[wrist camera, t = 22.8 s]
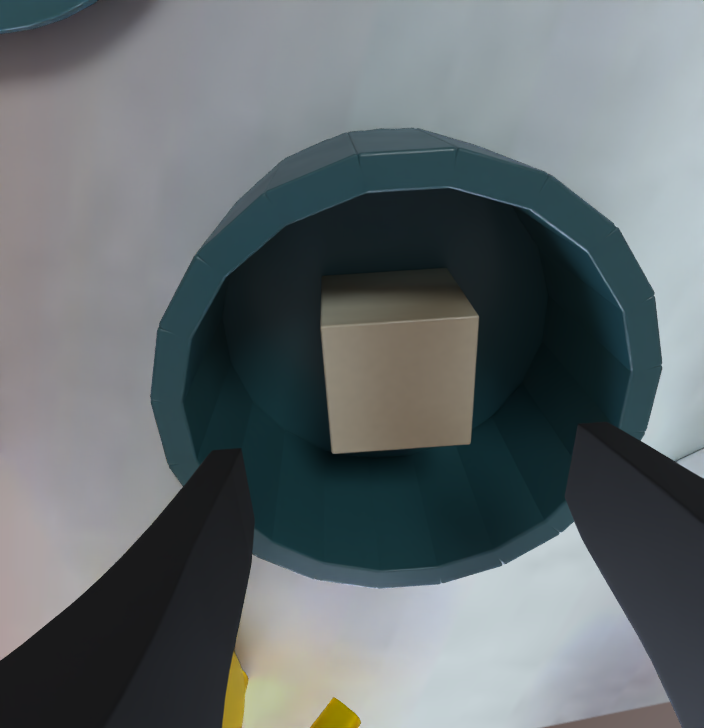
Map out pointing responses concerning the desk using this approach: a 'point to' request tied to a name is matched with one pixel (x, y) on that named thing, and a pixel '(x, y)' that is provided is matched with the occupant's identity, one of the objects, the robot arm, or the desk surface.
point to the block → (398, 360)
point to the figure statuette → (332, 724)
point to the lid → (36, 13)
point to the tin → (493, 362)
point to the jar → (694, 462)
